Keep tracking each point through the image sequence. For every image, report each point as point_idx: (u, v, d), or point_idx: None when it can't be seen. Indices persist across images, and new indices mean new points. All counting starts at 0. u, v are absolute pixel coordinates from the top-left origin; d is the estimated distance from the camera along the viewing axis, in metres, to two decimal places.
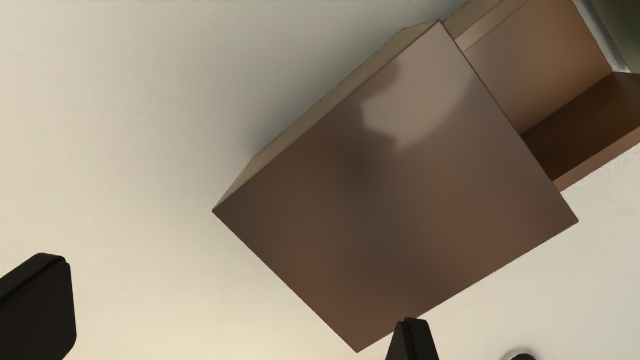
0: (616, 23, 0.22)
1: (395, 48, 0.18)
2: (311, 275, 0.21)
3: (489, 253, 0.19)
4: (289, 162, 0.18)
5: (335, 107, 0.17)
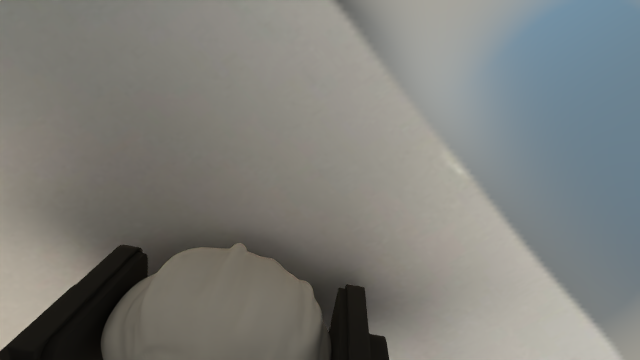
0: None
1: None
2: None
3: None
4: None
5: None
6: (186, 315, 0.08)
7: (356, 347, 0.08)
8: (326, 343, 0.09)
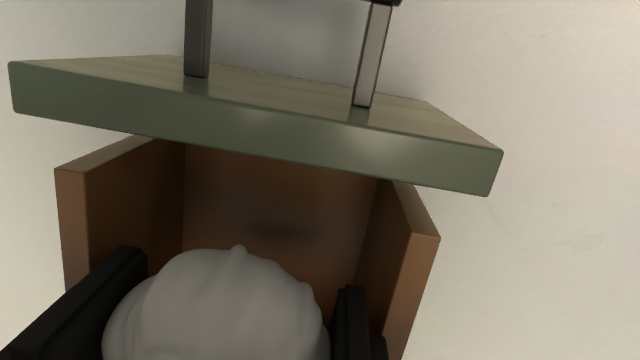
0: None
1: None
2: None
3: None
4: None
5: None
6: (186, 316, 0.08)
7: (356, 347, 0.08)
8: (326, 344, 0.09)
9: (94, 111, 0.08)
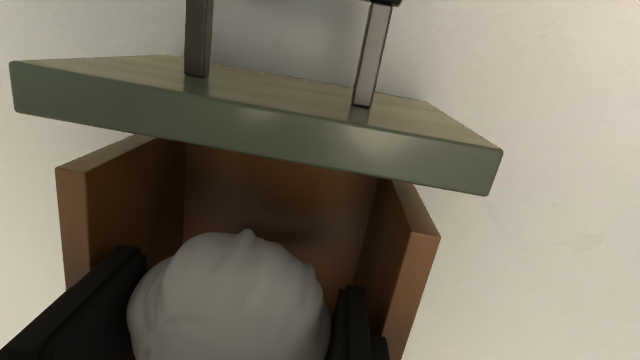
0: None
1: None
2: None
3: None
4: None
5: None
6: (203, 290, 0.09)
7: (357, 348, 0.08)
8: (327, 318, 0.10)
9: (95, 111, 0.08)
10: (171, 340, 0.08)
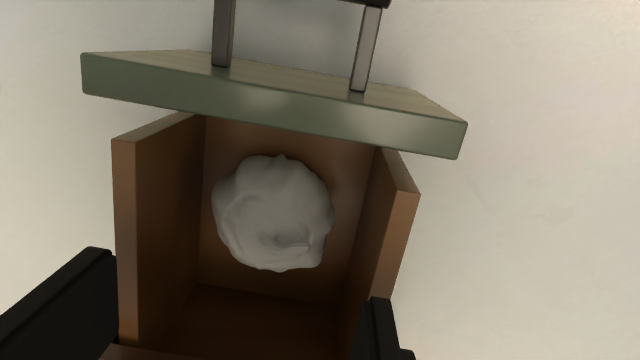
0: None
1: None
2: None
3: None
4: None
5: None
6: (261, 178, 0.15)
7: None
8: (332, 209, 0.17)
9: (147, 92, 0.11)
10: (243, 204, 0.14)
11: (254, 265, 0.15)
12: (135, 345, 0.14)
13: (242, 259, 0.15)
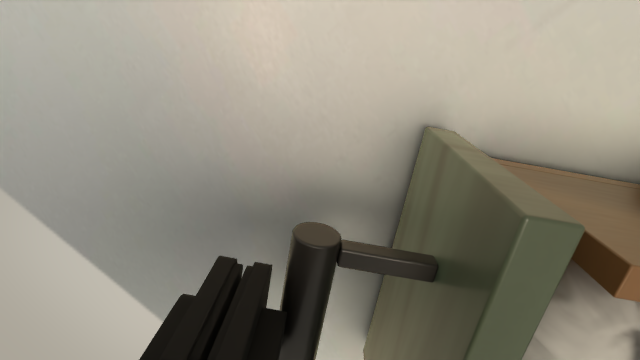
0: None
1: None
2: None
3: None
4: None
5: None
6: None
7: (240, 317, 0.08)
8: None
9: None
10: None
11: None
12: None
13: None
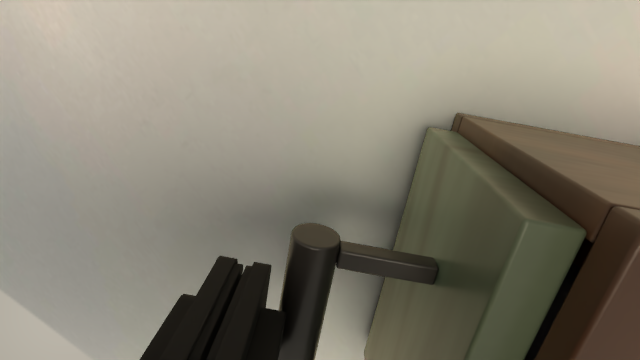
0: None
1: None
2: None
3: None
4: None
5: None
6: None
7: (239, 317, 0.08)
8: None
9: None
10: None
11: None
12: None
13: None
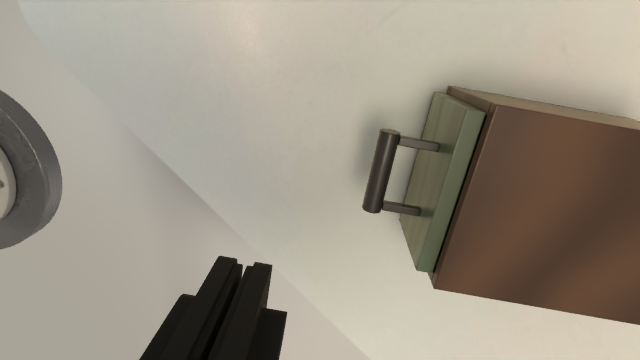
0: None
1: None
2: None
3: (567, 139, 0.20)
4: (573, 305, 0.24)
5: (518, 303, 0.24)
6: None
7: (240, 317, 0.08)
8: None
9: (435, 248, 0.24)
10: None
11: None
12: None
13: None
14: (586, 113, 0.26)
